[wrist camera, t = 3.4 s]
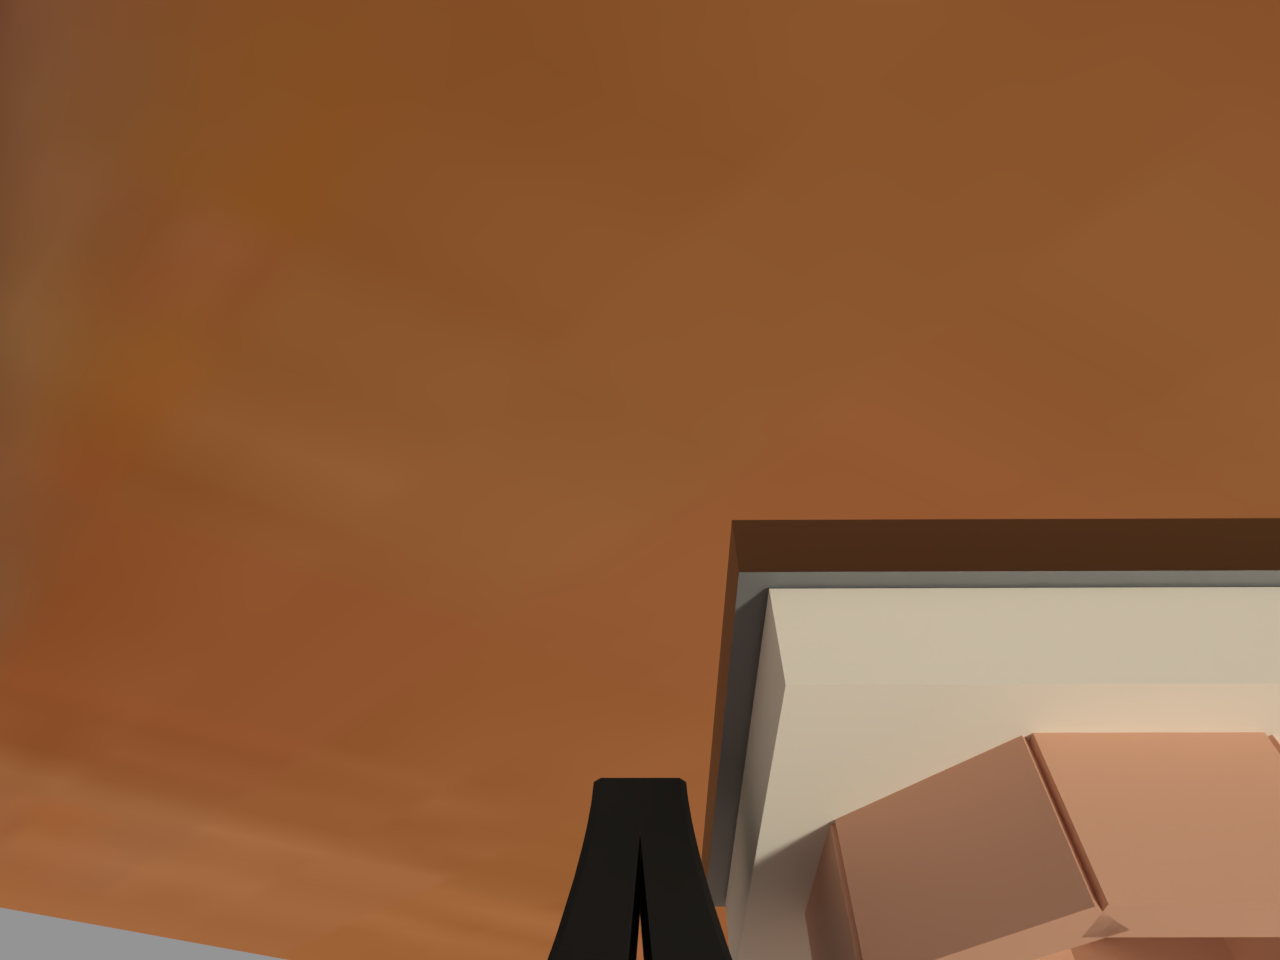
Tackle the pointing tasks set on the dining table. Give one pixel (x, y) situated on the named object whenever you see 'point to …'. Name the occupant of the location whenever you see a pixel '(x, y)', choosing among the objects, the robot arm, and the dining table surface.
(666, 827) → the robot arm
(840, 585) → the l-shaped bracket
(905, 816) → the square socket base
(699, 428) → the dining table surface
